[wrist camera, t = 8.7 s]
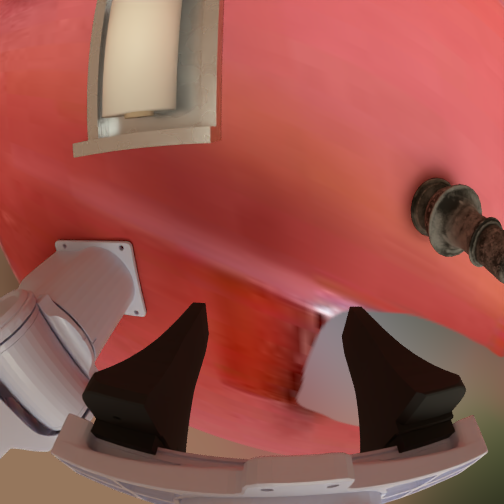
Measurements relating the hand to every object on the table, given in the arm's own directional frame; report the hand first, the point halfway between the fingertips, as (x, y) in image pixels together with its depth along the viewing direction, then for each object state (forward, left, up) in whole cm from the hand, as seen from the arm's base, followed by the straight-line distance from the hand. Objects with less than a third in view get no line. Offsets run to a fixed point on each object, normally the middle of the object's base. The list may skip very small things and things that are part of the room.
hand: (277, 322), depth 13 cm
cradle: (-9, +16, -9) cm, 21 cm away
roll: (-9, +16, -9) cm, 21 cm away
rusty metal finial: (+14, +4, -10) cm, 17 cm away
